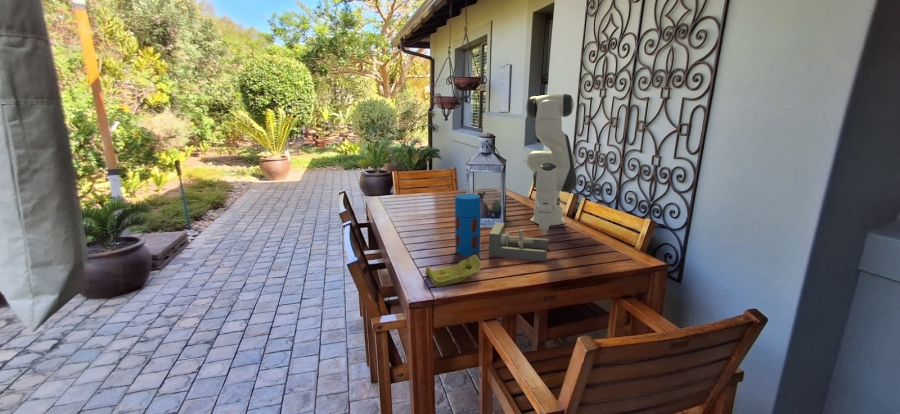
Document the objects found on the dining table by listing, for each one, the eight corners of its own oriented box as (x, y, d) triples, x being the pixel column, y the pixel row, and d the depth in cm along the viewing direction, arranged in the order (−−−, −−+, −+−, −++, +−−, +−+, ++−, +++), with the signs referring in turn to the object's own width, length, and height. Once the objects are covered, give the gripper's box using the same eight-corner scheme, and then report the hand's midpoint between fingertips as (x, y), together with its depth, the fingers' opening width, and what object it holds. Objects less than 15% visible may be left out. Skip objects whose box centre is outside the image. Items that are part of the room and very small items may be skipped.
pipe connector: (532, 256, 168) (532, 233, 166) (508, 255, 170) (508, 233, 168) (533, 248, 178) (533, 227, 175) (510, 248, 180) (510, 226, 178)
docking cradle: (495, 243, 186) (495, 222, 183) (548, 247, 179) (549, 226, 177) (488, 255, 170) (489, 233, 168) (546, 261, 164) (547, 238, 161)
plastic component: (435, 283, 139) (425, 262, 145) (434, 296, 143) (424, 276, 150) (485, 270, 146) (474, 251, 153) (482, 283, 151) (471, 264, 157)
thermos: (464, 258, 168) (464, 200, 162) (450, 250, 176) (450, 195, 170) (484, 252, 174) (485, 197, 167) (470, 246, 182) (470, 192, 176)
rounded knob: (493, 243, 180) (493, 229, 179) (509, 244, 179) (509, 230, 177) (491, 247, 174) (491, 233, 173) (507, 249, 173) (507, 235, 171)
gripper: (539, 196, 178) (538, 225, 182) (536, 208, 159) (535, 241, 163) (554, 197, 176) (552, 226, 180) (552, 209, 157) (551, 242, 161)
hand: (544, 233), depth 171 cm, fingers closed
